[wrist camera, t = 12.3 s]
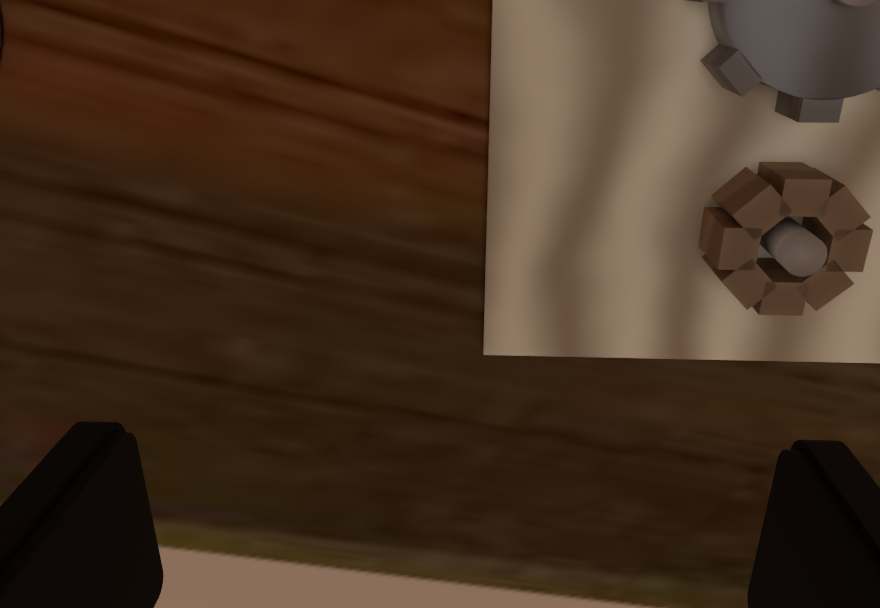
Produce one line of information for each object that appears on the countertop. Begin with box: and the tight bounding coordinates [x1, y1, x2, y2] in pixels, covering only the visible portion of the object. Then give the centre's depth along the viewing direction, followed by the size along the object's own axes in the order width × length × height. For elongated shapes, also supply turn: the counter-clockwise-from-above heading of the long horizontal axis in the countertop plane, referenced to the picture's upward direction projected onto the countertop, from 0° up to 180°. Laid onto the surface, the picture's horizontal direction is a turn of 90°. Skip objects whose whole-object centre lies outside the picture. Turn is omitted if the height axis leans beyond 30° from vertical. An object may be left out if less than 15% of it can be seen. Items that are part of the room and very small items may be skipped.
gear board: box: [483, 0, 880, 363], centre depth 34 cm, size 24×30×6 cm
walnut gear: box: [698, 162, 873, 316], centre depth 37 cm, size 7×7×4 cm
